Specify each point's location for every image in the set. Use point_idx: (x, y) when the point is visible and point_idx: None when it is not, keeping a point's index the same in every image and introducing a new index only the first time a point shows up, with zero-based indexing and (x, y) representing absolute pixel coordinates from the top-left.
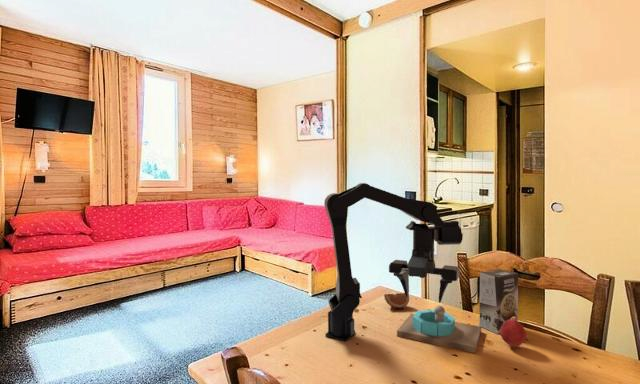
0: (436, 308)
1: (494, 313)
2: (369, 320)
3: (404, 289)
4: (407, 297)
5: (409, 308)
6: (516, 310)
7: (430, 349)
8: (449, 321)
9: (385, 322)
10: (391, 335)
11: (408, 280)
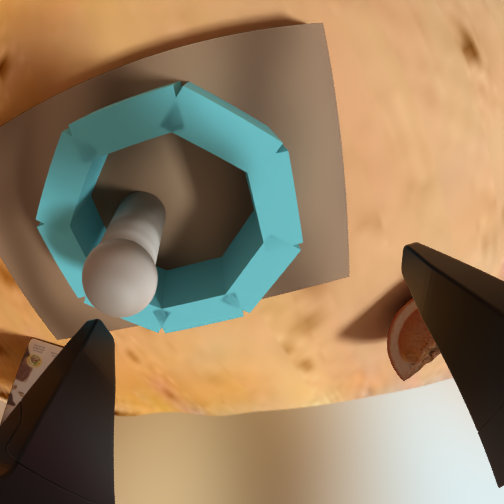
0: (121, 269)
1: (22, 396)
2: (477, 125)
3: (475, 275)
4: (398, 361)
5: (374, 331)
6: None
7: (92, 15)
8: (61, 240)
9: (423, 145)
10: (337, 15)
11: (471, 406)
